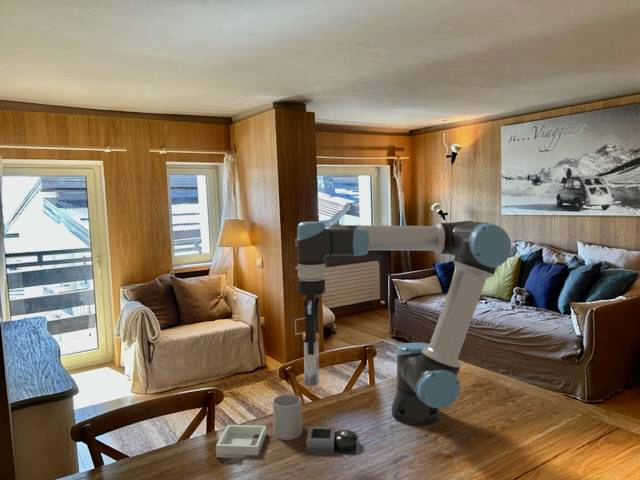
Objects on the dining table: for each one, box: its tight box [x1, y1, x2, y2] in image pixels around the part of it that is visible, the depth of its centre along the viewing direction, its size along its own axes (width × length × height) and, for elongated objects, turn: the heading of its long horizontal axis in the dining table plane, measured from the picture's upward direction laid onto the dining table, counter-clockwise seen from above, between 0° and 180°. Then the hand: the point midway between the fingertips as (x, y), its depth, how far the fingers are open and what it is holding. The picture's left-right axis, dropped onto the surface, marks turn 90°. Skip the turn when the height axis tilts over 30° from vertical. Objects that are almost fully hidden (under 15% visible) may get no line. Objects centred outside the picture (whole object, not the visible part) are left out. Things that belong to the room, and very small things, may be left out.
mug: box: [272, 393, 303, 441], centre depth 143 cm, size 12×8×11 cm
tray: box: [215, 424, 267, 459], centre depth 136 cm, size 12×12×3 cm
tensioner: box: [305, 426, 360, 456], centre depth 135 cm, size 14×10×4 cm
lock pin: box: [302, 331, 321, 387], centre depth 133 cm, size 5×5×14 cm
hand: (312, 361), depth 133 cm, fingers closed on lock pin, 4 cm apart
